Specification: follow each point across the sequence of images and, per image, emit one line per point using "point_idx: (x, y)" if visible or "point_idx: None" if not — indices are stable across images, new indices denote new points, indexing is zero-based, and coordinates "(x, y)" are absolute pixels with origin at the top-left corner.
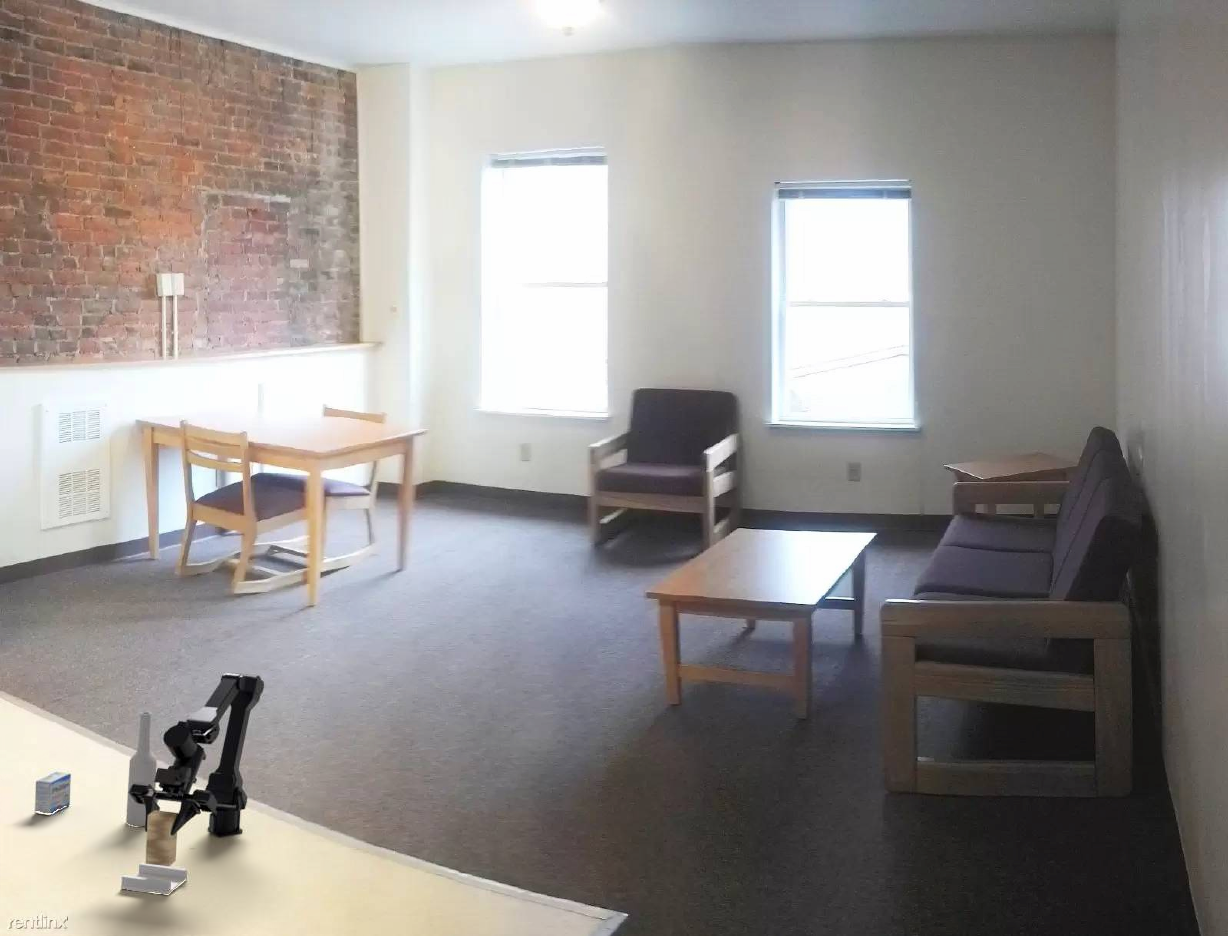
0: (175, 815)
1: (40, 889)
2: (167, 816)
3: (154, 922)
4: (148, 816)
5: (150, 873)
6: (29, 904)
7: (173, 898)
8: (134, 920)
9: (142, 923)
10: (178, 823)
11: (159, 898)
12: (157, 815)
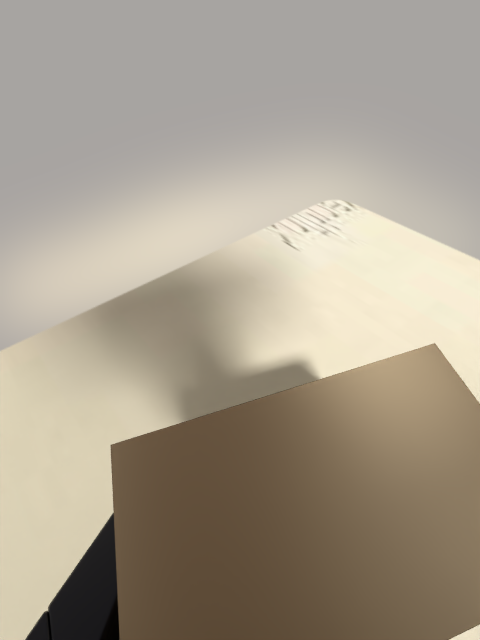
0: (122, 611)
1: (457, 294)
2: (192, 448)
3: (131, 306)
4: (416, 353)
5: None
6: (396, 246)
7: (166, 424)
8: (175, 293)
9: (151, 292)
10: (95, 551)
11: (200, 402)
12: (336, 397)
